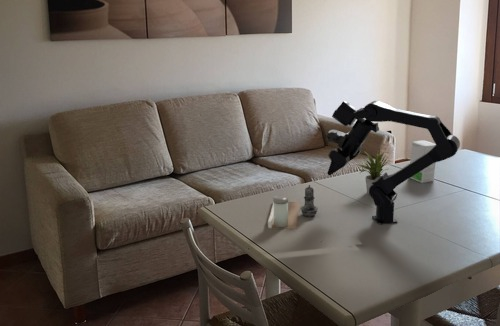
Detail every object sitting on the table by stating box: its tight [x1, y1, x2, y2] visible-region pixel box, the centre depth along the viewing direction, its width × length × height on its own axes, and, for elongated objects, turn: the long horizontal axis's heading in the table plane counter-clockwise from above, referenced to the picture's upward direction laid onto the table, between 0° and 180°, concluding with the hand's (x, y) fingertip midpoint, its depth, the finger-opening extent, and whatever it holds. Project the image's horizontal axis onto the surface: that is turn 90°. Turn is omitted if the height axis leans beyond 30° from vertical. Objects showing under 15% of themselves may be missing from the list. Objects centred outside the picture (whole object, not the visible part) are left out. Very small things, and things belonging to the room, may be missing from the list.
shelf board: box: [271, 201, 301, 230], centre depth 186 cm, size 9×25×1 cm, turn 172°
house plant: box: [355, 151, 391, 195], centre depth 207 cm, size 14×14×16 cm
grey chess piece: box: [299, 184, 319, 217], centre depth 183 cm, size 6×6×12 cm
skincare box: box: [409, 139, 436, 184], centre depth 221 cm, size 8×7×16 cm
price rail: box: [267, 195, 278, 229], centre depth 186 cm, size 1×25×3 cm, turn 172°
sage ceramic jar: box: [272, 195, 289, 227], centre depth 175 cm, size 5×5×9 cm
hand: (333, 171), depth 186 cm, fingers open, 9 cm apart
